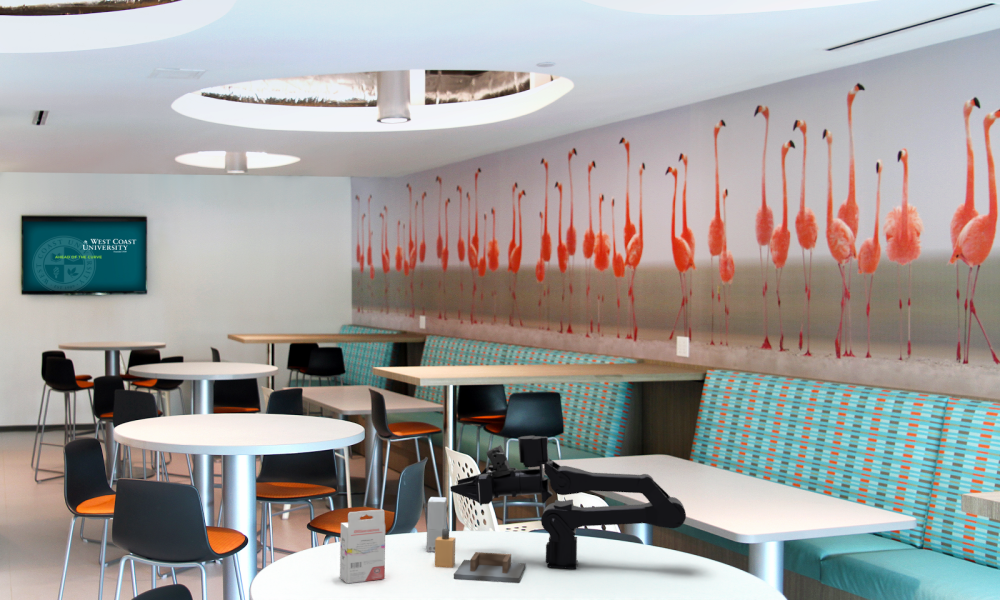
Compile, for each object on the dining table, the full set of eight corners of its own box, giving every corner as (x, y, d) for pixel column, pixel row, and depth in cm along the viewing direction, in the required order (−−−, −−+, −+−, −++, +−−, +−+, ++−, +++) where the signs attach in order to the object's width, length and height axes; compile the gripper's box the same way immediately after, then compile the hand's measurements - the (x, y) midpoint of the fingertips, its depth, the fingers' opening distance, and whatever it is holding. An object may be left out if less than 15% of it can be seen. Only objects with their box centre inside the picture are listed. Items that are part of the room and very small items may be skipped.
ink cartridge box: (377, 573, 194) (378, 505, 195) (385, 579, 190) (386, 509, 190) (338, 577, 190) (340, 508, 191) (345, 584, 186) (347, 512, 186)
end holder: (525, 567, 201) (525, 552, 201) (518, 582, 189) (519, 566, 189) (464, 564, 203) (464, 548, 203) (453, 578, 191) (454, 562, 191)
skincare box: (444, 552, 213) (445, 501, 214) (426, 552, 213) (427, 501, 214) (446, 546, 219) (447, 497, 220) (428, 545, 219) (429, 496, 220)
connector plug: (454, 564, 203) (455, 528, 203) (452, 567, 200) (453, 531, 200) (437, 563, 204) (438, 527, 204) (434, 566, 201) (435, 530, 201)
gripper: (522, 442, 216) (458, 445, 218) (514, 451, 197) (444, 455, 199) (526, 489, 215) (461, 492, 217) (517, 503, 196) (447, 506, 198)
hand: (454, 485), depth 208 cm, fingers open, 9 cm apart
